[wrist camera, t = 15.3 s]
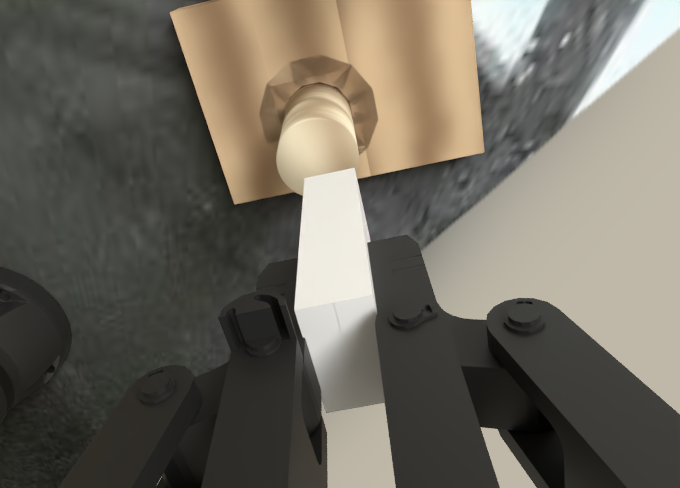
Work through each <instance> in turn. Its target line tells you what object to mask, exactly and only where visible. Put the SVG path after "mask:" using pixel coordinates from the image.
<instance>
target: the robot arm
mask: <svg viewBox="0 0 680 488" xmlns="http://www.w3.org/2000/svg"><path fill="white" fill-rule="evenodd" d="M218 319H219V321H220V324H221V326H222V329H223V331H224V334H225V336H226V339H227V341H228V344H229V347H230V349H231V355H230V360H229V361H228V362H227V363H225V364H224V365H222V366H220V367H218V368H216V369H214V370H211V371H209V372H207V373H204V374H202V375H199V376H197V377H193V374H192V372H191V371H190V370H189V369H187V368H186V367H185V366H179V365H170V366H164V367H160V368H158V369H156V370H153V371H151V372H149V373H147V374H146V375H144V376H143V377H141V378H140V379H138V380H137V381H136V382H135V383H134V384H133V385H132V386H131V387H130V388H129V389H128V391H127V392H126V394H125V395H124V396H123V398H122V399H121V400H120V402H119V403H118V405H117V406H116V407H115V409H114V410H113V412H112V413H111V414H110V416H109V417H108V419H107V420H106V421H105V423H104V424H103V426H102V427H101V428H100V430H99V431H98V433H97V434H96V435H95V437H94V438H93V440H92V441H91V442H90V444H89V445H88V447H87V448H86V449H85V451H84V452H83V454H82V455H81V456H80V458H79V459H78V461H77V462H76V463H75V465H74V466H73V468H72V469H71V470H70V472H69V473H68V475H67V476H66V477H65V479H64V480H63V482H62V483H61V484H60V486H59V487H58V488H327V432H326V428H325V424H324V421H323V418H322V415H321V398H322V401H323V404H324V408H325V411H326V413H329V412H334V411H340V410H345V409H351V408H357V407H363V406H368V405H374V404H379V403H385V406H386V414H387V422H388V430H389V438H390V445H391V452H392V461H393V468H394V476H395V484H396V488H499V484H498V481H497V478H496V475H495V472H494V469H493V466H492V462H491V459H490V456H489V453H488V450H487V447H486V444H485V441H484V437H483V434H482V431H481V428H480V427H485V428H495V429H498V431H499V433H500V436H501V437H502V439H503V440H504V442H505V443H506V444H507V446H508V447H509V448H510V450H511V452H512V453H513V454H514V456H515V457H516V459H517V460H518V461H519V463H520V464H521V466H522V467H523V469H524V470H525V471H526V473H527V474H528V475H529V477H530V478H531V480H532V481H533V483H534V484H535V486H536V487H537V488H680V415H679V414H678V413H677V412H676V411H675V410H674V409H673V408H672V407H670V406H669V405H668V404H667V403H666V402H665V401H663V400H662V399H661V398H660V397H659V396H658V395H656V393H654V392H653V391H652V390H651V389H650V388H649V387H647V386H646V385H645V384H643V382H642V381H641V380H639V379H638V378H637V377H636V376H635V375H634V374H632V373H631V372H630V371H629V370H628V369H627V368H626V367H625V366H623V365H622V364H621V363H620V362H618V360H616V359H615V358H614V357H613V356H612V355H611V354H610V353H608V352H607V351H606V350H605V349H604V348H603V347H601V346H600V345H599V344H598V343H597V342H596V341H595V340H594V339H592V338H591V337H590V336H589V335H588V334H587V333H585V332H584V331H583V330H582V329H581V328H580V327H579V326H577V325H576V324H575V323H574V322H573V321H572V320H571V319H569V318H568V317H567V316H566V315H565V314H564V313H563V312H561V311H560V310H559V309H558V308H556V307H555V306H553V305H551V304H550V303H548V302H545V301H541V300H537V299H534V298H531V299H530V298H517V299H513V300H508V301H504V302H503V303H500V304H498V305H497V306H495V307H493V309H492V310H491V311H490V312H489V313H488V314H487V320H473V319H463V318H459V317H456V316H452V315H450V314H448V313H446V312H445V311H443V309H441V307H440V306H439V304H438V303H437V301H436V299H435V295H434V292H433V289H432V286H431V283H430V280H429V276H428V273H427V270H426V267H425V264H424V260H423V258H422V254H421V251H420V248H419V245H418V243H417V242H416V241H414V240H413V239H412V238H410V237H409V236H408V235H403V236H398V237H393V238H388V239H383V240H378V241H373V242H370V237H369V232H368V228H367V223H366V218H365V214H364V209H363V204H362V200H361V195H360V190H359V185H358V181H357V176H356V171H355V168H351V169H346V170H341V171H336V172H332V173H327V174H322V175H317V176H313V177H308V178H304V191H303V204H302V216H301V229H300V242H299V254H298V258H295V259H290V260H285V261H280V262H275V263H270V264H268V265H267V266H266V268H265V269H264V270H263V271H262V273H261V274H260V275H259V276H258V282H257V287H256V292H253V293H250V294H246V295H243V296H241V297H239V298H237V299H236V300H234V301H232V302H231V303H229V304H228V305H227V306H226V307H225V308H224V309H223V310H222V312H221V314H220V315H219V317H218ZM70 346H71V330H70V325H69V322H68V320H67V317H66V315H65V313H64V312H63V310H62V308H61V307H60V305H59V304H58V303H57V302H56V300H55V299H54V298H53V297H52V296H51V295H50V294H49V293H48V292H47V291H45V290H44V289H43V288H42V287H40V286H39V285H38V284H36V283H35V282H33V281H32V280H30V279H28V278H26V277H24V276H23V275H20V274H18V273H16V272H13V271H11V270H8V269H5V268H1V267H0V425H1V423H2V422H3V420H4V419H5V417H6V416H7V414H8V413H9V411H10V410H11V409H12V408H13V407H14V406H15V405H17V404H18V403H19V402H21V401H22V400H23V399H25V398H26V397H28V396H29V395H30V394H32V393H33V392H34V391H36V390H37V389H38V388H40V387H41V386H43V385H44V384H45V383H47V382H48V381H49V380H50V379H51V378H52V377H53V376H54V375H55V374H56V372H57V371H58V370H59V368H60V366H61V365H62V363H63V362H64V360H65V358H66V357H67V355H68V352H69V350H70ZM161 476H162V478H161ZM160 478H161V480H160ZM159 480H160V481H159ZM158 481H159V483H158ZM157 483H158V485H157ZM156 485H157V486H156Z"/></svg>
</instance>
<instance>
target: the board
mask: <svg viewBox="0 0 680 488" xmlns="http://www.w3.org/2000/svg"><path fill="white" fill-rule="evenodd" d="M170 15H171V18H172V21H173V24H174V27H175V30H176V33H177V36H178V39H179V41H180V44H181V47H182V50H183V53H184V56H185V59H186V62H187V65H188V68H189V71H190V74H191V77H192V80H193V83H194V86H195V89H196V92H197V95H198V98H199V101H200V104H201V107H202V110H203V113H204V116H205V119H206V122H207V125H208V128H209V130H210V133H211V136H212V139H213V142H214V145H215V148H216V151H217V154H218V157H219V160H220V163H221V166H222V169H223V172H224V175H225V178H226V181H227V184H228V187H229V190H230V193H231V196H232V199H233V202H234V205H235V204H240V203H244V202H249V201H254V200H259V199H264V198H268V197H273V196H278V195H283V194H287V193H292V192H294V191H293V190H291V189H290V188H289V187H288V186H287V185H286V184H285V183H284V181H283V180H282V178H281V176H280V174H279V172H278V169H277V163H276V155H277V149H278V145H279V140H280V135H281V130H282V125H283V120H284V112H285V107H286V105H287V102H288V100H289V98H290V97H291V96H292V95H293V94H294V93H295V92H296V91H297V90H298V89H299V88H300V87H302V86H304V85H308V84H313V83H317V82H322V83H325V84H328V85H331V86H334V87H337V88H338V89H339V90H340V91H341V92H342V93H343V94H344V95H345V96H346V98H347V99H348V100H349V101H350V106H351V111H352V119H353V125H354V130H355V135H356V141H357V146H358V151H359V168H358V171H357V174H356V176H357V179H359V178H364V177H369V176H374V175H378V174H383V173H388V172H393V171H398V170H402V169H407V168H412V167H417V166H422V165H426V164H431V163H436V162H441V161H445V160H450V159H455V158H460V157H465V156H469V155H474V154H479V153H484V142H483V131H482V120H481V109H480V98H479V87H478V75H477V64H476V53H475V42H474V31H473V20H472V9H471V0H211V1H207V2H203V3H199V4H194V5H190V6H186V7H182V8H178V9H176V10H174V11H172V12H170Z"/></svg>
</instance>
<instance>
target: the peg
mask: <svg viewBox="0 0 680 488" xmlns="http://www.w3.org/2000/svg"><path fill="white" fill-rule="evenodd" d="M276 163H277V169H278V172H279V174H280V176H281V178H282V180H283V181H284V183H285V184H286V185H287V186H288V187H289V188H290V189H291V190H293V191H294V192H296V193H297V194H299V195H302V196H303V191H304V178H308V177H313V176H317V175H322V174H327V173H332V172H336V171H341V170H346V169H351V168H355V171H356V174H357V171H358V168H359V151H358V146H357V141H356V135H355V130H354V125H353V119H352V111H351V107H350V104H349V102H348V100H347V99H346V97H345V96H344V95H343V94H342V93H341V92H340V91H339V90H338V89H336V88H334V87H333V86H330V85H327V84H322V83H314V84H309V85H306V86H303V87H301V88H300V89H298V90H297V91H296V92H295V93H294V94H293V95H292V96H291V97H290V99H289V100H288V102H287V105H286V107H285V112H284V120H283V125H282V130H281V135H280V140H279V145H278V149H277V155H276Z"/></svg>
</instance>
